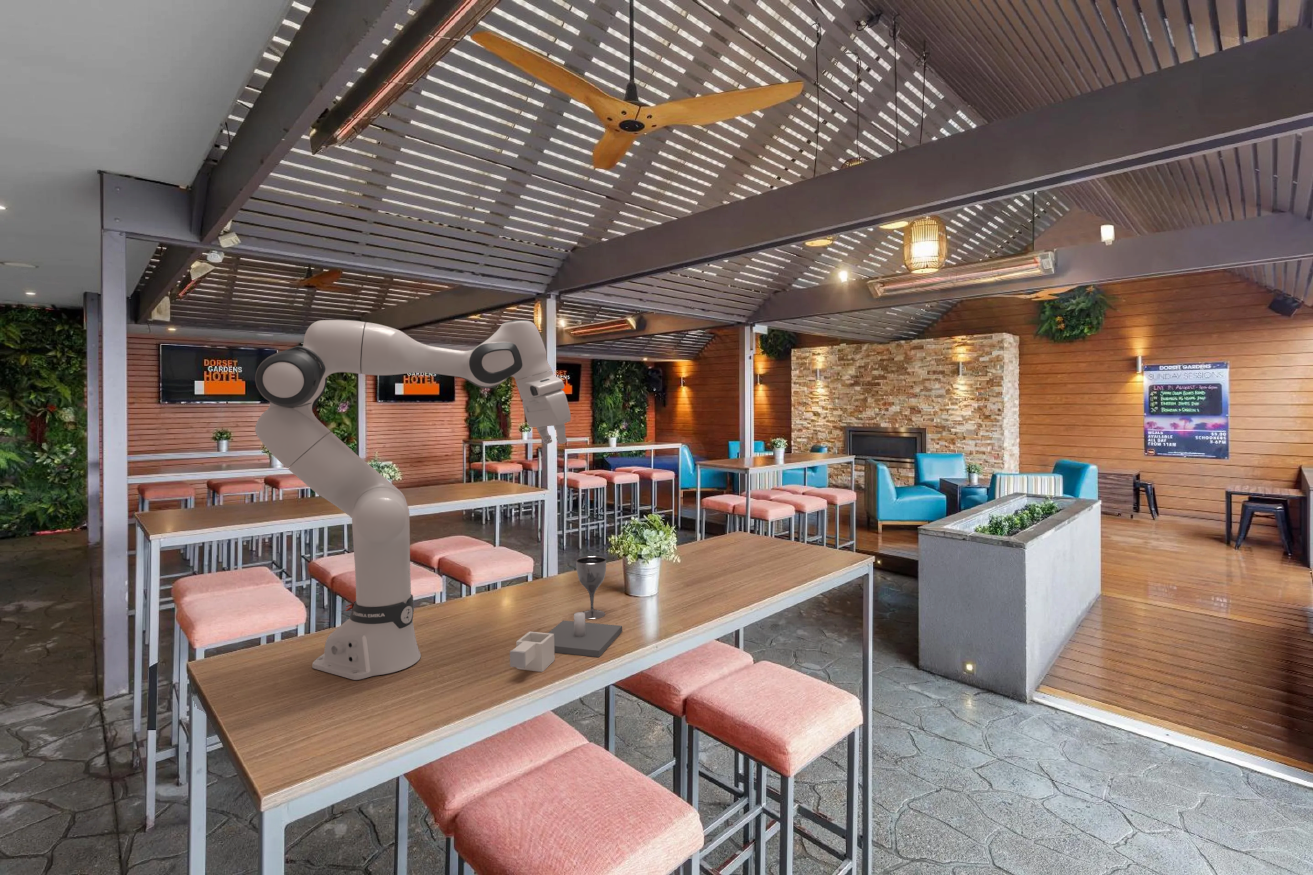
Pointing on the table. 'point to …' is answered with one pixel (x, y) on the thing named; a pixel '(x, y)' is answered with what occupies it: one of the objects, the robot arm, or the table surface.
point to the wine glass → (591, 580)
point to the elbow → (533, 652)
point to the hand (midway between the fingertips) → (555, 443)
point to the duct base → (583, 636)
